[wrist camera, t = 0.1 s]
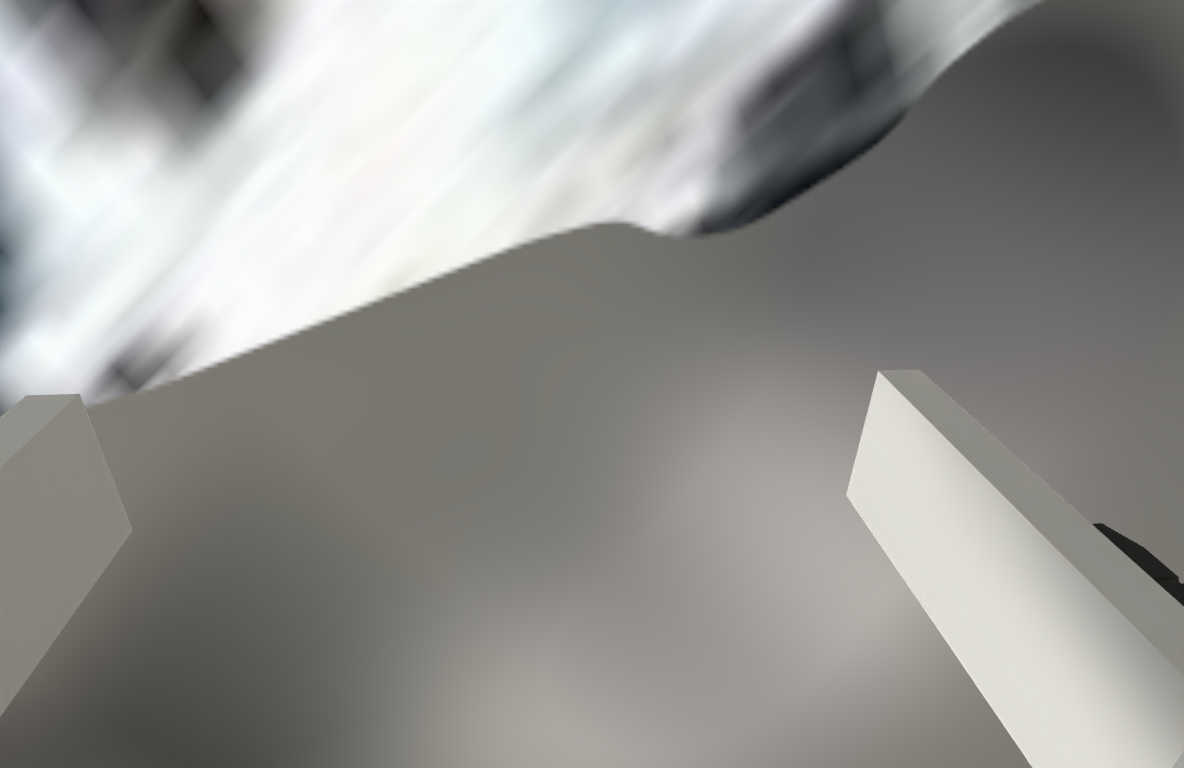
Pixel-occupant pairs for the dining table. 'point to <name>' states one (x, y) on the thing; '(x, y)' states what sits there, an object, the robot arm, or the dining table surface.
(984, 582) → the robot arm
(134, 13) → the dining table surface
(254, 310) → the dining table surface
